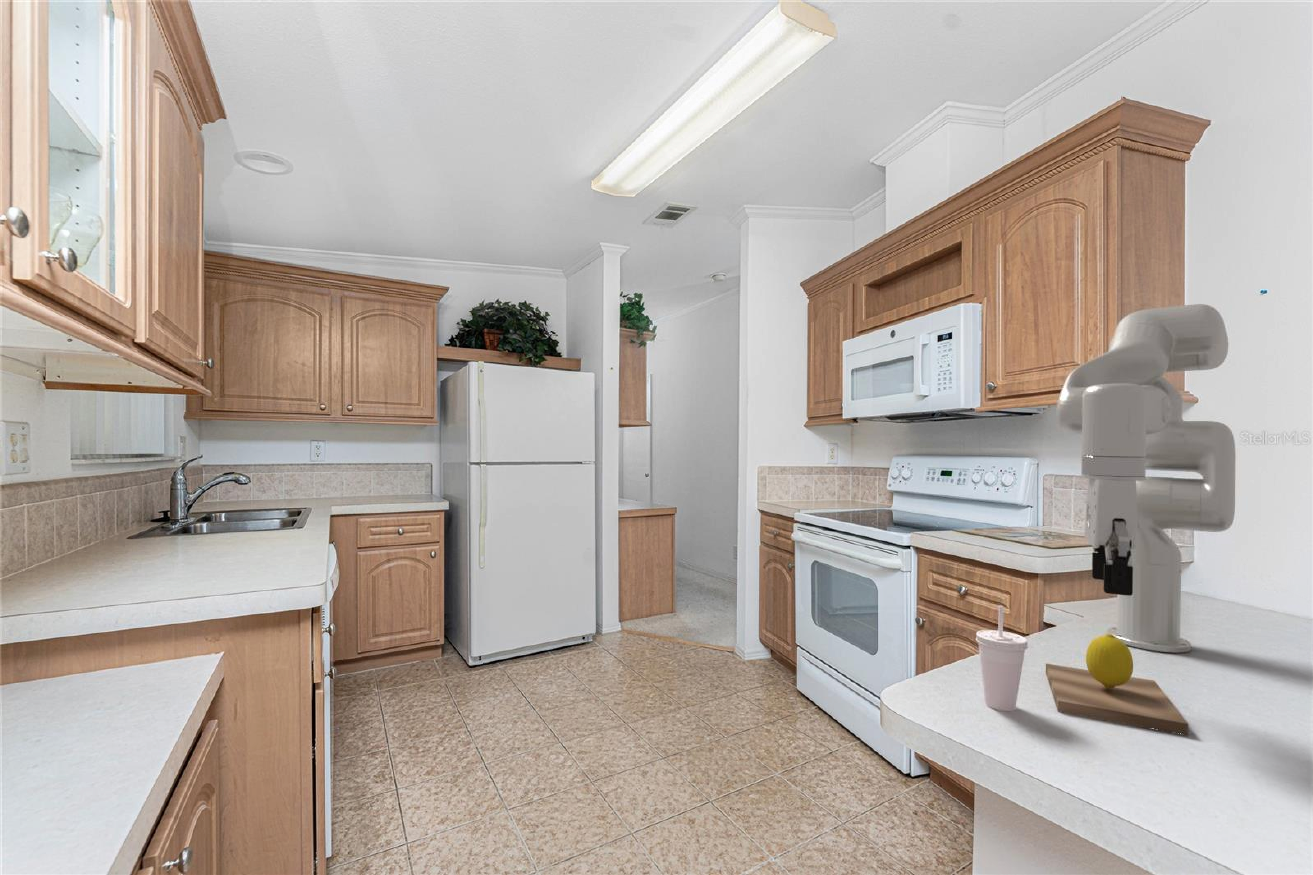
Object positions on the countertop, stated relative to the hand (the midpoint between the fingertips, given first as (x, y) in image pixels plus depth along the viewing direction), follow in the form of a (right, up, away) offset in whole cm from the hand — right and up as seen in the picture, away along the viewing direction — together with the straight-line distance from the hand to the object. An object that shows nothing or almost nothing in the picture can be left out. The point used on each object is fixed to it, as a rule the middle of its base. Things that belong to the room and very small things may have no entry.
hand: (1111, 586), depth 90 cm
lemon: (-1, -15, 0) cm, 15 cm away
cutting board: (-1, -16, -1) cm, 16 cm away
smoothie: (-18, -16, -3) cm, 24 cm away
